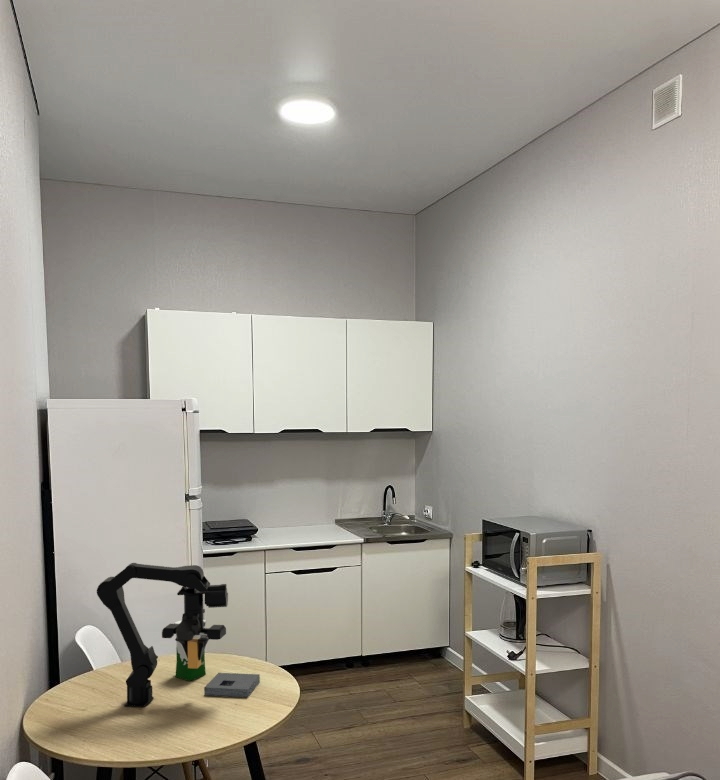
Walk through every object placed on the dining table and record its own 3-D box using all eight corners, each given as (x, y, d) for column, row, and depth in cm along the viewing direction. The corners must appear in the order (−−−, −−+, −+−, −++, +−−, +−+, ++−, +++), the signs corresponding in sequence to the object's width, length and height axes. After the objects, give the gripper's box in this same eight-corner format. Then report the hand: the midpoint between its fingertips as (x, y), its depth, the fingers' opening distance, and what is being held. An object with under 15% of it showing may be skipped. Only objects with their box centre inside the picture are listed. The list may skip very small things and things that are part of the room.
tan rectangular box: (187, 668, 204) (187, 641, 204) (191, 664, 207) (191, 638, 207) (197, 668, 203) (196, 641, 204) (201, 664, 206) (200, 638, 207)
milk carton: (189, 682, 218) (188, 620, 218) (171, 677, 223) (170, 616, 224) (209, 674, 225) (209, 613, 226) (191, 668, 230) (191, 609, 231)
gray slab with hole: (204, 695, 207) (204, 687, 207) (218, 680, 219) (218, 672, 219) (247, 697, 205) (247, 689, 205) (259, 682, 217) (259, 674, 217)
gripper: (153, 615, 199) (153, 668, 199) (212, 616, 196) (213, 670, 196) (169, 604, 210) (170, 655, 210) (226, 606, 207) (227, 657, 207)
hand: (194, 659), depth 205 cm, fingers closed on tan rectangular box, 3 cm apart
